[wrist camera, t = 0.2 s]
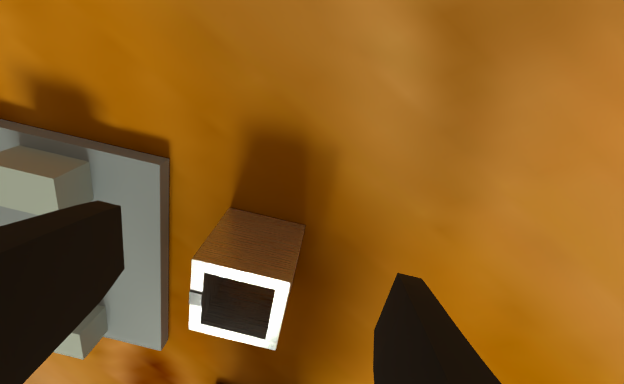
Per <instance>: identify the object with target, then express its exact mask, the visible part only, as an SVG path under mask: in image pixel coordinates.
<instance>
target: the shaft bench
mask: <svg viewBox="0 0 624 384" xmlns="http://www.w3.org/2000/svg"><path fill="white" fill-rule="evenodd" d="M97 200H99V201H103V202H107V203H111V204H115V205H119V206H121V215H122V233H123V250H124V267H125V269H124V270H123V272H122V273H121V275H120V276H119V277H118V279H117V280H116V282H115V283H114V284H113V286H112V287H111V289H110V290H109V291H108V292H107V294H106V295H105V296H104V298H103V299H102V300H101V302H100V303H99V304H98V305H97V306H96V307H95V308H94V309H93V310H92V312H91V313H90V314H89V315H88V316H87V317H86V318H85V319H84V320H83V321H82V322H81V323H80V324H79V325H78V326H77V328H76V329H75V330H74V331H73V332H72V333H71V334H70V335H69V336H68V337H67V338H66V339H65V340H64V341H63V342H62V343H61V344H60V345H59V346H58V347H57V348H56V349H55V351H54V352H55V353H59V354H63V355H67V356H71V357H75V358H79V359H83V360H84V358H85V357H86V356H87V355H88V354H89V353H90V351H91V350H92V349H93V348H94V347H95V345H96V344H97V343H98V342H99V341H100V339H101V338H102V337H107V338H111V339H115V340H119V341H123V342H127V343H131V344H135V345H139V346H143V347H147V348H151V349H155V350H159V351H161V350H162V349H163V347H164V345H165V344H166V342H167V340H168V268H169V159H168V158H164V157H160V156H155V155H151V154H147V153H143V152H138V151H134V150H130V149H126V148H121V147H117V146H113V145H109V144H104V143H100V142H96V141H92V140H87V139H83V138H79V137H75V136H70V135H66V134H62V133H58V132H54V131H49V130H45V129H41V128H37V127H32V126H28V125H24V124H20V123H15V122H11V121H7V120H3V119H0V226H3V225H7V224H10V223H14V222H17V221H21V220H24V219H28V218H31V217H35V216H39V215H42V214H46V213H49V212H53V211H56V210H60V209H64V208H67V207H71V206H75V205H79V204H83V203H87V202H92V201H97Z"/></svg>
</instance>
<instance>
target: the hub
mask: <svg viewBox="0 0 624 384" xmlns="http://www.w3.org/2000/svg"><path fill="white" fill-rule="evenodd" d="M305 226H306V225H301V224H297V223H293V222H289V221H285V220H280V219H276V218H272V217H268V216H264V215H259V214H255V213H251V212H247V211H243V210H238V209H234V208H229V209H228V210H227V212H226V213H225V214H224V216H223V217H222V219H221V220H220V221H219V223H218V224H217V225H216V227H215V228H214V230H213V231H212V232H211V234H210V235H209V236H208V238H207V239H206V240H205V242H204V243H203V245H202V246H201V247H200V249H199V250H198V251H197V253H196V254H195V255H194V257H193V258H192V267H191V289H190V292H189V304H190V310H189V329H190V330H194V331H198V332H202V333H206V334H210V335H214V336H218V337H222V338H226V339H230V340H234V341H238V342H242V343H247V344H251V345H255V346H259V347H263V348H267V349H271V350H276V346H277V342H278V338H279V334H280V331H281V327H282V323H283V319H284V315H285V311H286V307H287V303H288V299H289V295H290V291H291V287H292V283H293V279H294V274H295V270H296V266H297V261H298V257H299V252H300V248H301V244H302V239H303V235H304V230H305Z"/></svg>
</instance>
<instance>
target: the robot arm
mask: <svg viewBox="0 0 624 384" xmlns="http://www.w3.org/2000/svg"><path fill="white" fill-rule="evenodd" d="M124 269H125V267H124V250H123V233H122V215H121V206H119V205H115V204H111V203H107V202H103V201H99V200H97V201H92V202H87V203H83V204H79V205H75V206H71V207H67V208H64V209H60V210H56V211H53V212H49V213H46V214H42V215H39V216H35V217H31V218H28V219H24V220H21V221H17V222H14V223H10V224H7V225H3V226H0V384H23V383H24V382H25V381H26V380H27V379H28V378H29V377H30V376H31V375H32V374H33V372H34V371H35V370H36V369H37V368H38V367H39V366H40V365H41V364H42V363H43V362H44V361H45V360H46V359H47V358H48V357H49V356H50V355H51V354H52V353H53V352H54V351H55V349H56V348H57V347H58V346H59V345H60V344H61V343H62V342H63V341H64V340H65V339H66V338H67V337H68V336H69V335H70V334H71V333H72V332H73V331H74V330H75V329H76V328H77V326H78V325H79V324H80V323H81V322H82V321H83V320H84V319H85V318H86V317H87V316H88V315H89V314H90V313H91V312H92V310H93V309H94V308H95V307H96V306H97V305H98V304H99V303H100V302H101V300H102V299H103V298H104V296H105V295H106V294H107V292H108V291H109V290H110V289H111V287H112V286H113V284H114V283H115V282H116V280H117V279H118V277H119V276H120V275H121V273H122V272H123V270H124ZM373 372H374V384H501V383H500V381H499V380H498V379H497V378H496V377H495V375H494V374H493V373H492V372H491V370H490V369H489V368H488V367H487V365H486V364H485V363H484V362H483V360H482V359H481V358H480V356H479V355H478V354H477V353H476V351H475V350H474V349H473V347H472V346H471V345H470V343H469V342H468V341H467V339H466V338H465V337H464V335H463V334H462V333H461V331H460V330H459V329H458V327H457V326H456V325H455V323H454V322H453V321H452V319H451V318H450V316H449V315H448V314H447V312H446V311H445V310H444V308H443V307H442V305H441V304H440V303H439V301H438V300H437V299H436V297H435V296H434V294H433V293H432V292H431V290H430V289H429V288H428V286H427V285H426V284H425V282H424V281H423V280H422V279H421V278H417V277H413V276H408V275H404V274H400V273H397V276H396V278H395V281H394V283H393V285H392V288H391V290H390V293H389V295H388V298H387V300H386V303H385V305H384V308H383V310H382V312H381V315H380V317H379V320H378V322H377V325H376V327H375V330H374V361H373Z"/></svg>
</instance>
